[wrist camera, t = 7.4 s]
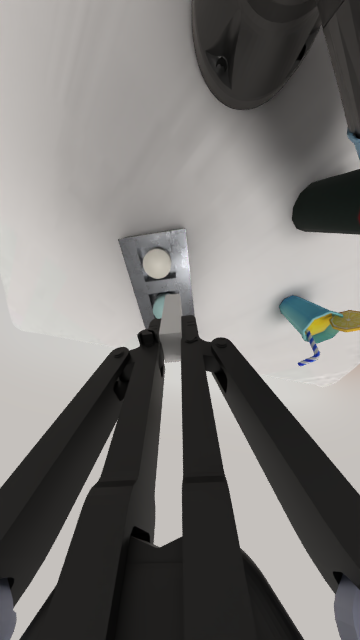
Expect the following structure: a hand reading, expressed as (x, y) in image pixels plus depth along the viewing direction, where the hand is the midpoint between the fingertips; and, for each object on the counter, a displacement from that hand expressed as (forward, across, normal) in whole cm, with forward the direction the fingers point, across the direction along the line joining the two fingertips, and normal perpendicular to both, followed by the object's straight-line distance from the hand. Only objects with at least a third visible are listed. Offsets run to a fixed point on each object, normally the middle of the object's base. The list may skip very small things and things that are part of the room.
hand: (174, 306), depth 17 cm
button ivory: (+19, -3, +1) cm, 19 cm away
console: (+20, -3, -8) cm, 22 cm away
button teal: (+17, -3, -8) cm, 19 cm away
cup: (+21, +27, -14) cm, 37 cm away
